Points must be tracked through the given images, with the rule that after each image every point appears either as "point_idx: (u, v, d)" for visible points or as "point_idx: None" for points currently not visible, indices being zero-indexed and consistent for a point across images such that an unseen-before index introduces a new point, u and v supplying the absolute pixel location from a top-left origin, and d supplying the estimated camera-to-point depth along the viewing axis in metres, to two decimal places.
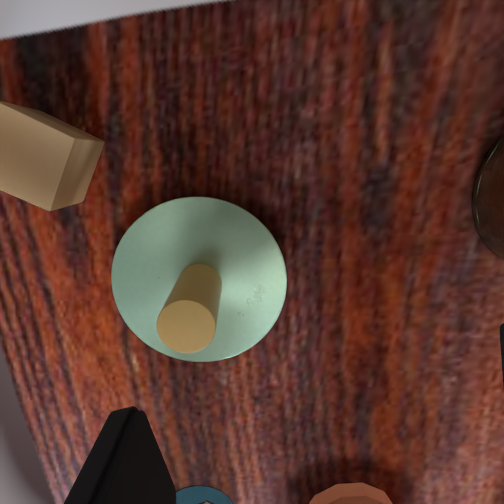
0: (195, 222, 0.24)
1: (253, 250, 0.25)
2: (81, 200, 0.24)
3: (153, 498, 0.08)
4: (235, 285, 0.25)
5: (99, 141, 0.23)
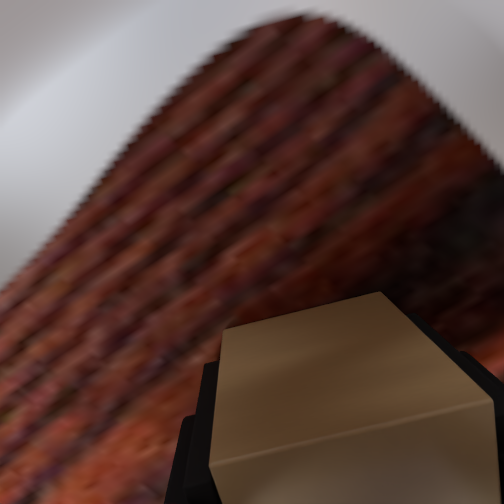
0: None
1: None
2: None
3: None
4: None
5: None
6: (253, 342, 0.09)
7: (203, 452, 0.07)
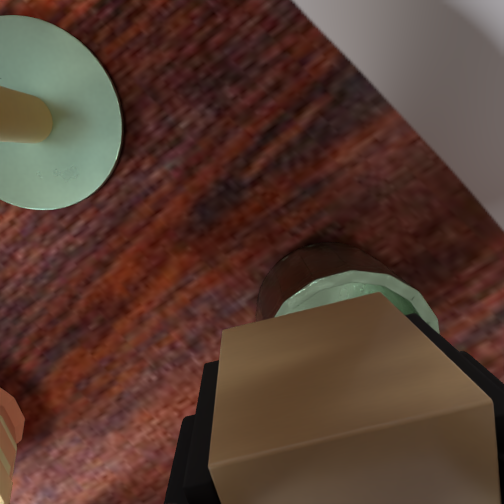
0: (72, 70, 0.23)
1: (96, 138, 0.25)
2: None
3: None
4: (57, 149, 0.25)
5: None
6: (253, 342, 0.09)
7: (203, 452, 0.07)
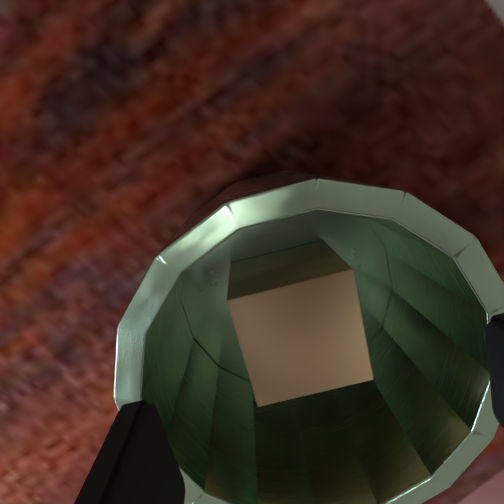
0: None
1: None
2: None
3: (164, 489, 0.08)
4: None
5: None
6: (248, 265, 0.15)
7: None
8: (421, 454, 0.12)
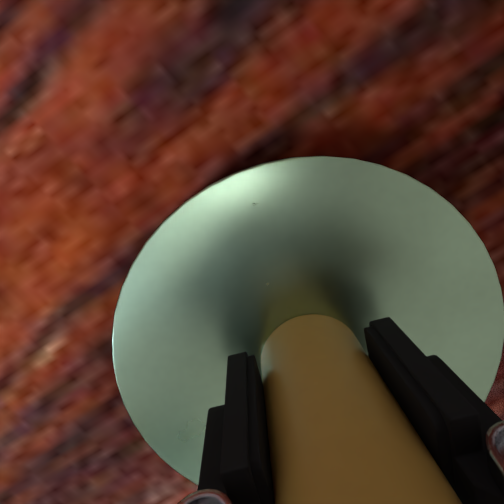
0: (426, 268, 0.11)
1: None
2: None
3: None
4: None
5: None
6: None
7: (237, 439, 0.07)
8: None
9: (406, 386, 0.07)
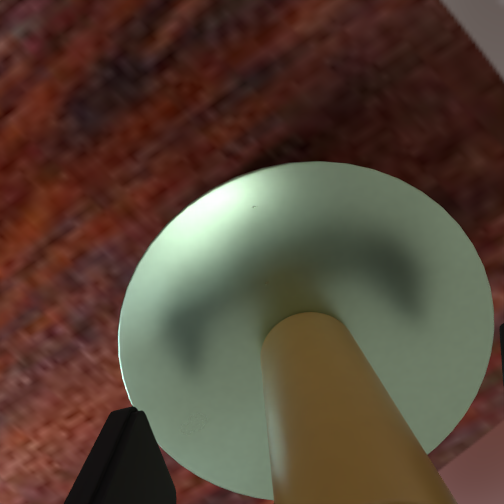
0: (418, 268, 0.11)
1: (432, 385, 0.12)
2: None
3: (153, 498, 0.08)
4: None
5: None
6: None
7: None
8: None
9: None
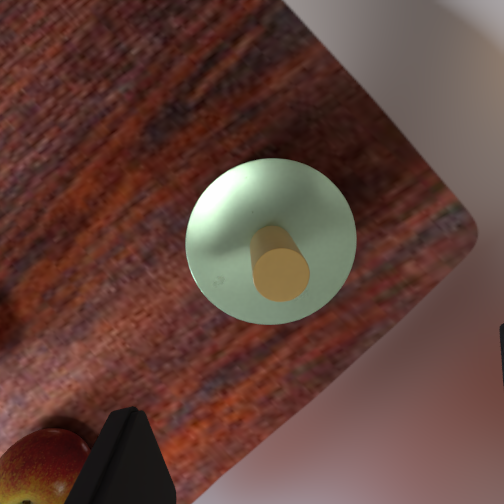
0: (319, 205, 0.25)
1: (330, 262, 0.26)
2: None
3: (153, 498, 0.08)
4: None
5: None
6: None
7: None
8: None
9: None
